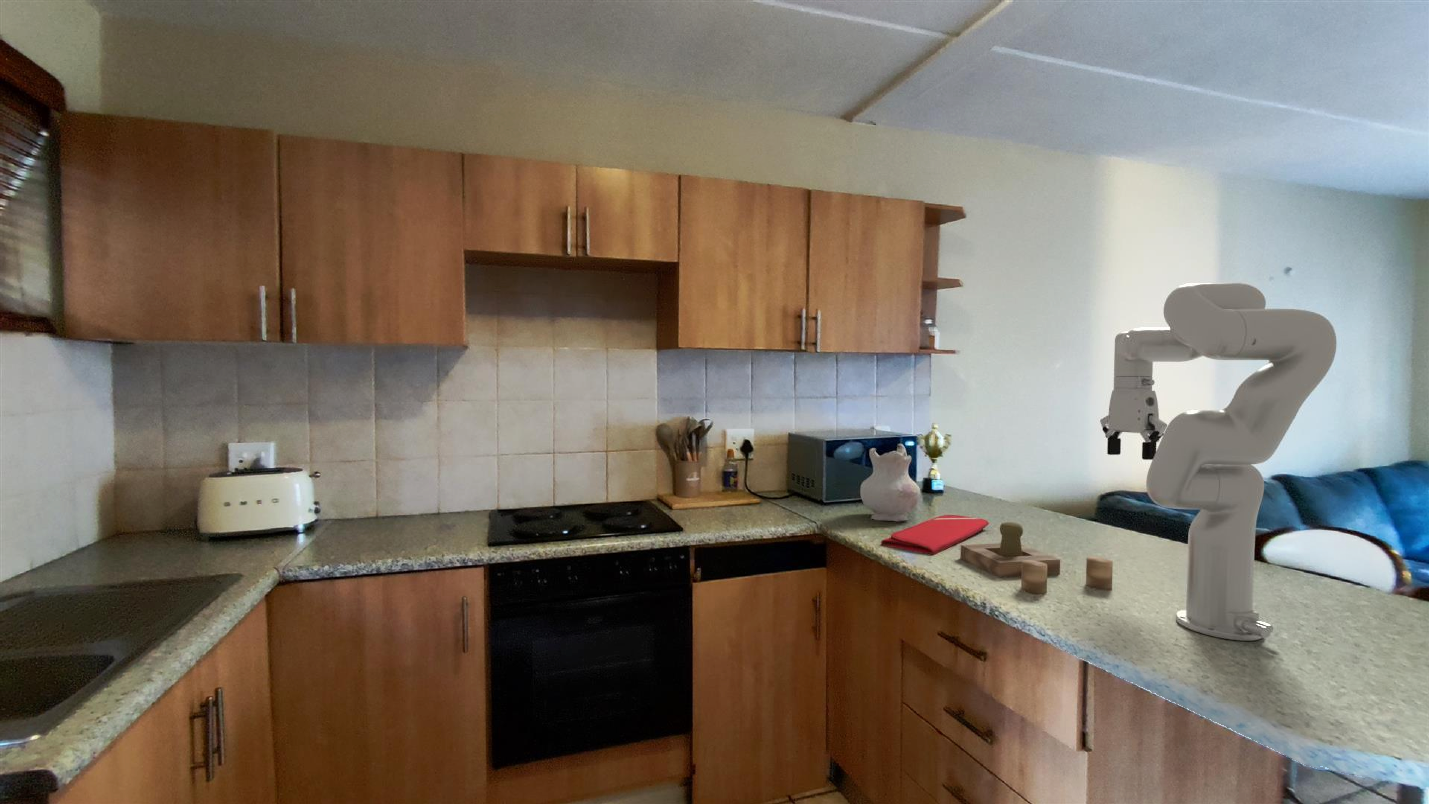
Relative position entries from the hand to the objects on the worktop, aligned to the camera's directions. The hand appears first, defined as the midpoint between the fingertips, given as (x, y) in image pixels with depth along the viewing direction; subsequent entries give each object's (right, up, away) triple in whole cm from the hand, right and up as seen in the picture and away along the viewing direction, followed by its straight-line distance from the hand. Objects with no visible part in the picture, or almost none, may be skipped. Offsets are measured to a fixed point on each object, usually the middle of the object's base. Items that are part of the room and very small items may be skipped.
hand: (1130, 456), depth 145 cm
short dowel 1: (-28, -29, -10) cm, 41 cm away
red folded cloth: (-32, -28, +38) cm, 57 cm away
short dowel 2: (-12, -29, -7) cm, 32 cm away
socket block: (-25, -28, +8) cm, 38 cm away
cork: (-25, -28, +7) cm, 38 cm away
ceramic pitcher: (-39, -27, +64) cm, 79 cm away
